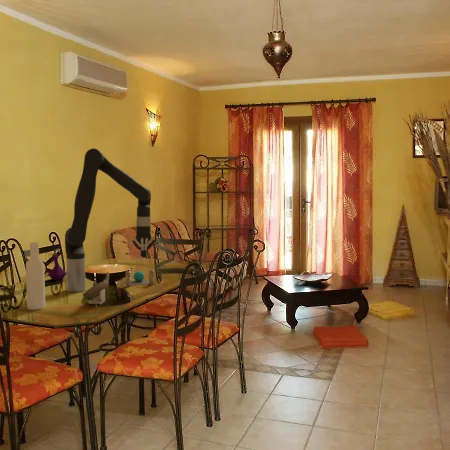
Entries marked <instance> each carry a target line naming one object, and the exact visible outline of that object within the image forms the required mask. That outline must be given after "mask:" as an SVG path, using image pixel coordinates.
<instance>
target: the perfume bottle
mask: <svg viewBox="0 0 450 450" xmlns="http://www.w3.org/2000/svg"><path fill="white" fill-rule="evenodd" d="M53 251H54V252H53V253H51V259H52V260H53V262H54V265H53V266H54V267H53V268H52V269H51V271H49V273H47V275H48V277H49V278H51V279H50V280H53V281H60V280H63V279H64V278H65V277H66V272H67V271H65V270H64V269H63V268H62V267H61V266H60V264H59V262H58V260H59V258H60V257H59V256H58V253H60V252H61V250H60V248H56V249H54V250H53ZM56 252H58V253H56Z"/></svg>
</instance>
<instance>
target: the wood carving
mask: <svg viewBox="0 0 450 450" xmlns="http://www.w3.org/2000/svg"><path fill="white" fill-rule="evenodd" d="M109 280H110V272H109V271H107V272H106V275H105V278H104V279H102V281H101V282H99V283H97V280H94V281H93V285H92V286H91V287H90V288H89V289H87V290H86V291H84V293H82V296H83V297H84V298H83V300H82V301H83V302H84V301H86V300H88V304H91V305H102V304H103V303H105V302H106V290H107V289H108V287H109V285H110V284H109V282H110V281H109Z"/></svg>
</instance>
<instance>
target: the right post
mask: <svg viewBox="0 0 450 450" xmlns="http://www.w3.org/2000/svg"><path fill="white" fill-rule="evenodd" d="M148 273H149V274H148V278H149V279H148V283H149V284H148V285H150V286H153V285H155V270H154V269H149V270H148Z"/></svg>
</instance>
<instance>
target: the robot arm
mask: <svg viewBox="0 0 450 450" xmlns="http://www.w3.org/2000/svg"><path fill="white" fill-rule="evenodd" d="M83 160H84V161H83V167H82V172H81V177H80V180H79V183H78V187H77V190H76V194H75V199H74V205H73V206H74V207H73V210H74V214H73V220H72V224H71V227H69V228H68V229H67V230H66V232H64V234H65V235H64V247H65V256H66V271H65V272H66V275H65V277H66V278H65V279H66V291H67V292H68V293H78V292H79V293H80V292H85V290H86V261H85V259H86V257H85V254H86V253H85V250H84V242H85V240H86V236H87V228H88V222H89V219H90V215H91V211H92V208H93V204H94V201H95V196H96V191H97V190H96V186H97V175H98V172H99V171H101V172H102V173H104V174H106V175H107V176H108V177H110V178H111V179H112V181H113V180H114V182H116V183H117V184H118V185H119V186H120V187H122V188H123V189H125V191H128V192H129V193H130V194H132V196H134V197H135V198H136V199H137V207H136V221H135V222H136V224H135V225H136V228H135V229H136V232H135V233H136V235H135V236H134V237H135V238H134V239H132V240H131V243H132V244H133V245H134V247H135V248H136V249H137V250H139V251H140V256H141V258H142V259H144V258H146V257H147V251H149V250H151V248H152V246H153V245H154V244H155V243H156V240H155V239H153V238H152V234H151V233H152V232H151V229H152V226H151V225H152V222H151V202H152V200H151V199H152V193H151V190H150V189H149V188H148V187H144V186H143V185H142V184H141V183H139V182H138V181H137V180H136V179H135V178H133V177H132V176H131V175H130V174H128V173H127V172H125V171H124V170H123V169H120V168H118V167H117V166H116V165H114V164H113V162H111V161H109V160H108V158H107V157H105V155H104V154H103V152H101V150H99V149H97V148H95V147H93V148H89V149H88V150H87V151H86V152H85V155H84V159H83Z"/></svg>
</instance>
